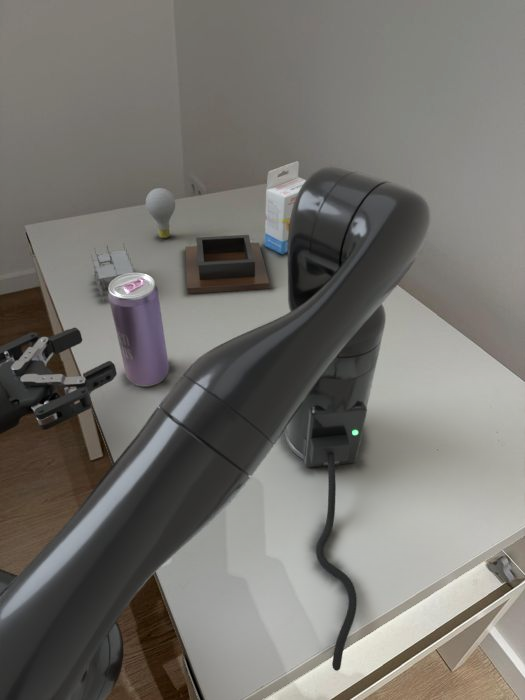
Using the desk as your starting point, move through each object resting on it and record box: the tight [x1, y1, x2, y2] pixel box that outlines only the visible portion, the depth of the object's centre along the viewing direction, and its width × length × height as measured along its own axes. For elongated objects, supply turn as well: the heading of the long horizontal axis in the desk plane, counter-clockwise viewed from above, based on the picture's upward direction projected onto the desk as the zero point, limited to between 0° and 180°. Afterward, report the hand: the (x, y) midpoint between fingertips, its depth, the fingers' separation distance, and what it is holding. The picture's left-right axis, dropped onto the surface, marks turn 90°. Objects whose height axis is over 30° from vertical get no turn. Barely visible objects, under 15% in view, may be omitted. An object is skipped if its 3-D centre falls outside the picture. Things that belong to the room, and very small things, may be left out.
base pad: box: [184, 234, 270, 295], centre depth 92 cm, size 14×14×4 cm
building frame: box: [90, 241, 135, 302], centre depth 87 cm, size 6×8×6 cm
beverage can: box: [107, 272, 170, 388], centre depth 68 cm, size 6×6×15 cm
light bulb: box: [145, 187, 176, 239], centre depth 99 cm, size 6×6×10 cm
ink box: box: [264, 160, 307, 256], centre depth 96 cm, size 8×5×15 cm, turn 134°
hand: (96, 350), depth 64 cm, fingers open, 8 cm apart
